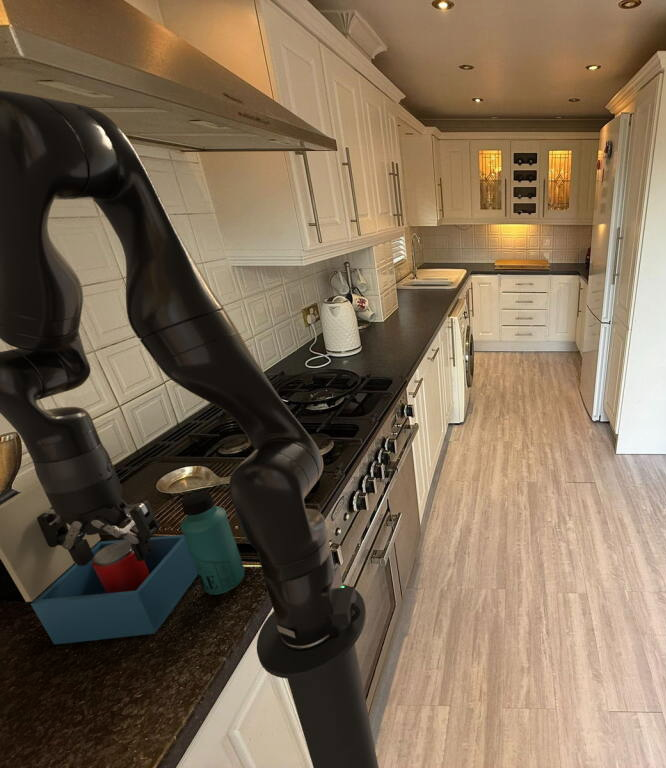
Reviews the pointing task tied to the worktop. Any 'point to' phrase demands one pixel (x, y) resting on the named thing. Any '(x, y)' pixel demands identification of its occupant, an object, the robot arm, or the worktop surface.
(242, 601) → the worktop surface
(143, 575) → the can
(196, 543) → the beverage bottle
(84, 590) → the cool box
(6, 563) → the lid
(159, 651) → the worktop surface
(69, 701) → the worktop surface
